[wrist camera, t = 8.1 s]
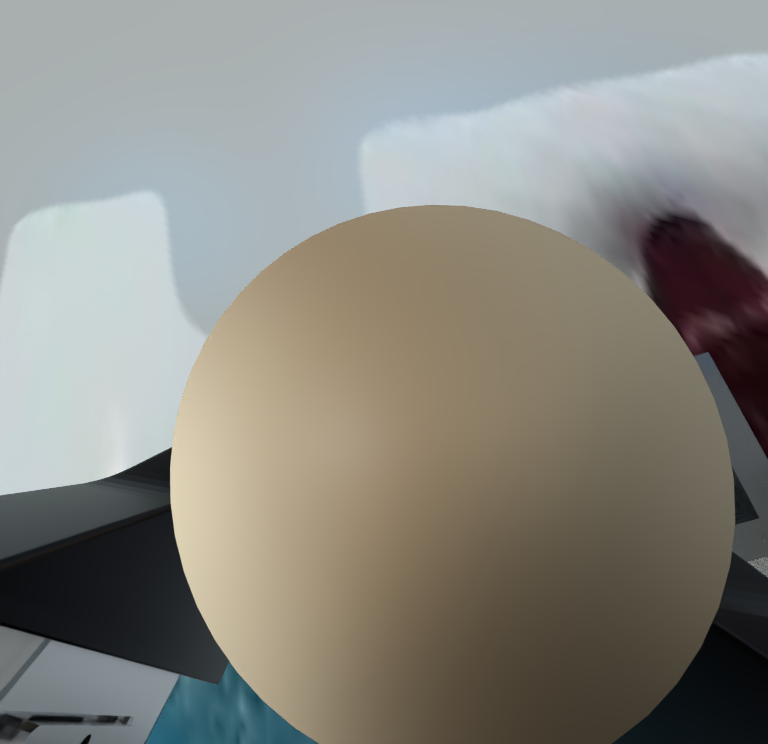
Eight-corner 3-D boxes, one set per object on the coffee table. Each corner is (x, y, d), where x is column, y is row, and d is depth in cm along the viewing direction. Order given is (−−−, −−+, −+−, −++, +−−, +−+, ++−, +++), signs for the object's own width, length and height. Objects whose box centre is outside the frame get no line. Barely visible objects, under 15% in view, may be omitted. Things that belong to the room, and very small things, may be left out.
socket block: (566, 558, 16) (607, 599, 13) (506, 410, 17) (528, 410, 14) (724, 513, 15) (813, 543, 12) (648, 363, 17) (708, 351, 13)
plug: (412, 475, 17) (400, 943, 2) (360, 413, 18) (85, 426, 3) (473, 420, 17) (889, 491, 2) (418, 361, 18) (434, 117, 3)
